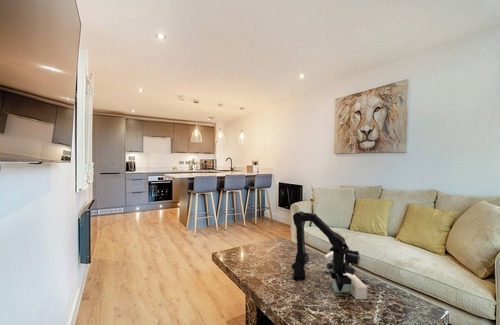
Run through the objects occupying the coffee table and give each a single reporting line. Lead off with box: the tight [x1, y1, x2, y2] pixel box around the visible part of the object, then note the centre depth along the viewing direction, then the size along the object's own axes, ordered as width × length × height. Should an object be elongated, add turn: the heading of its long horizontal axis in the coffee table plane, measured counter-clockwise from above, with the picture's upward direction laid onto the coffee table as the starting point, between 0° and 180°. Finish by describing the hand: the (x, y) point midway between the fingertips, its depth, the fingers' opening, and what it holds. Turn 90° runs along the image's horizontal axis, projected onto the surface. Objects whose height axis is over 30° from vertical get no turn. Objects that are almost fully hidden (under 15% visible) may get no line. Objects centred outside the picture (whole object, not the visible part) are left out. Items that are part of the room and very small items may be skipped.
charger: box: [331, 278, 350, 293], centre depth 125 cm, size 10×4×5 cm, turn 92°
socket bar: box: [343, 272, 368, 300], centre depth 125 cm, size 6×16×6 cm, turn 2°
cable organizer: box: [324, 251, 352, 273], centre depth 146 cm, size 15×11×12 cm
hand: (338, 288), depth 125 cm, fingers closed on charger, 4 cm apart
